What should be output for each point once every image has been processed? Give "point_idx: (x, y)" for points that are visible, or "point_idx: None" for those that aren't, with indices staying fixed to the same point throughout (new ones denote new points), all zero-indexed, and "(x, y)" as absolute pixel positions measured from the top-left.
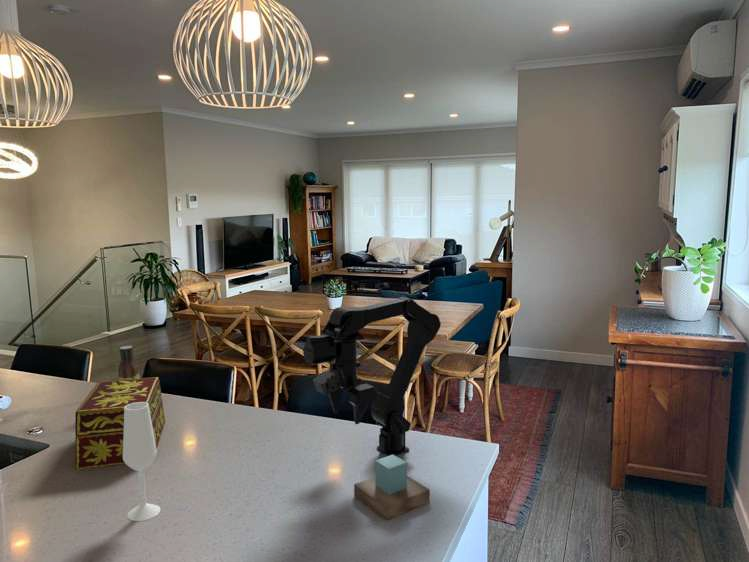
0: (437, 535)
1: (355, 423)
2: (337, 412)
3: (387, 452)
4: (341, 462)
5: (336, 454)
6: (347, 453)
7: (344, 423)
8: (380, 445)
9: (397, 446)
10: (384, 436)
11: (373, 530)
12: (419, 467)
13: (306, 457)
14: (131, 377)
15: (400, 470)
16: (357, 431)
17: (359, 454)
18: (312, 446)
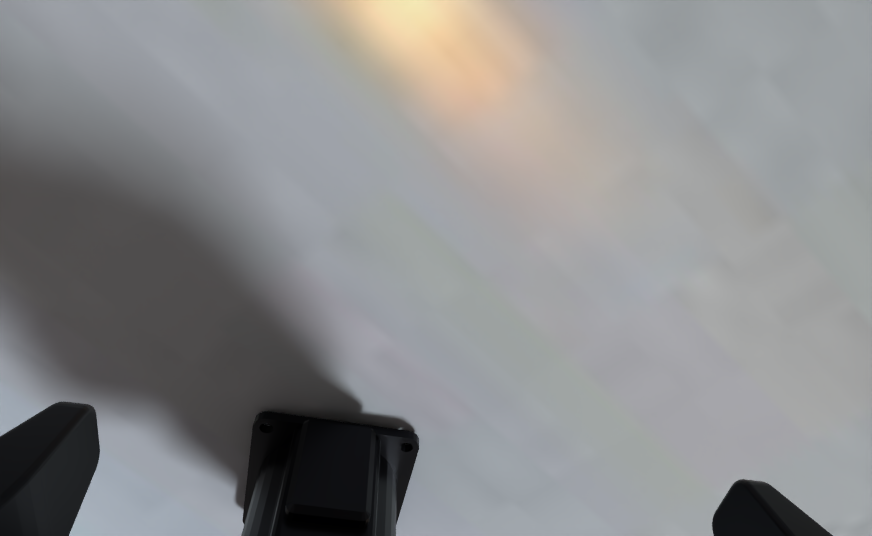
0: None
1: (65, 409)
2: (721, 519)
3: (297, 428)
4: (468, 147)
5: (594, 218)
6: (534, 279)
7: None
8: (352, 450)
9: (252, 498)
10: (307, 520)
11: None
12: (22, 417)
13: (792, 13)
14: None
15: None
16: (682, 509)
17: (452, 318)
18: (853, 195)
